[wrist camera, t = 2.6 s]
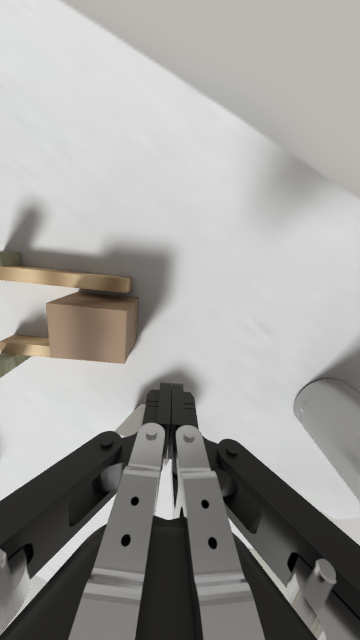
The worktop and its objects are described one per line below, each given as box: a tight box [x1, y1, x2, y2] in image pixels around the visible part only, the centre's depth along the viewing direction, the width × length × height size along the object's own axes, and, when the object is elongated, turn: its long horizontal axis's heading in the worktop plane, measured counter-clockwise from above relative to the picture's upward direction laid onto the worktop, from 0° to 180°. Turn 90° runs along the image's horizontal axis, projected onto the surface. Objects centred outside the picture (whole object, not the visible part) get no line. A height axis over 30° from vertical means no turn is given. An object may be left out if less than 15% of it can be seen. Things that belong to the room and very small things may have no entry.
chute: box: [0, 251, 132, 378], centre depth 25 cm, size 16×14×6 cm
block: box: [46, 292, 138, 364], centre depth 25 cm, size 8×6×7 cm
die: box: [115, 404, 169, 466], centre depth 30 cm, size 8×9×10 cm
